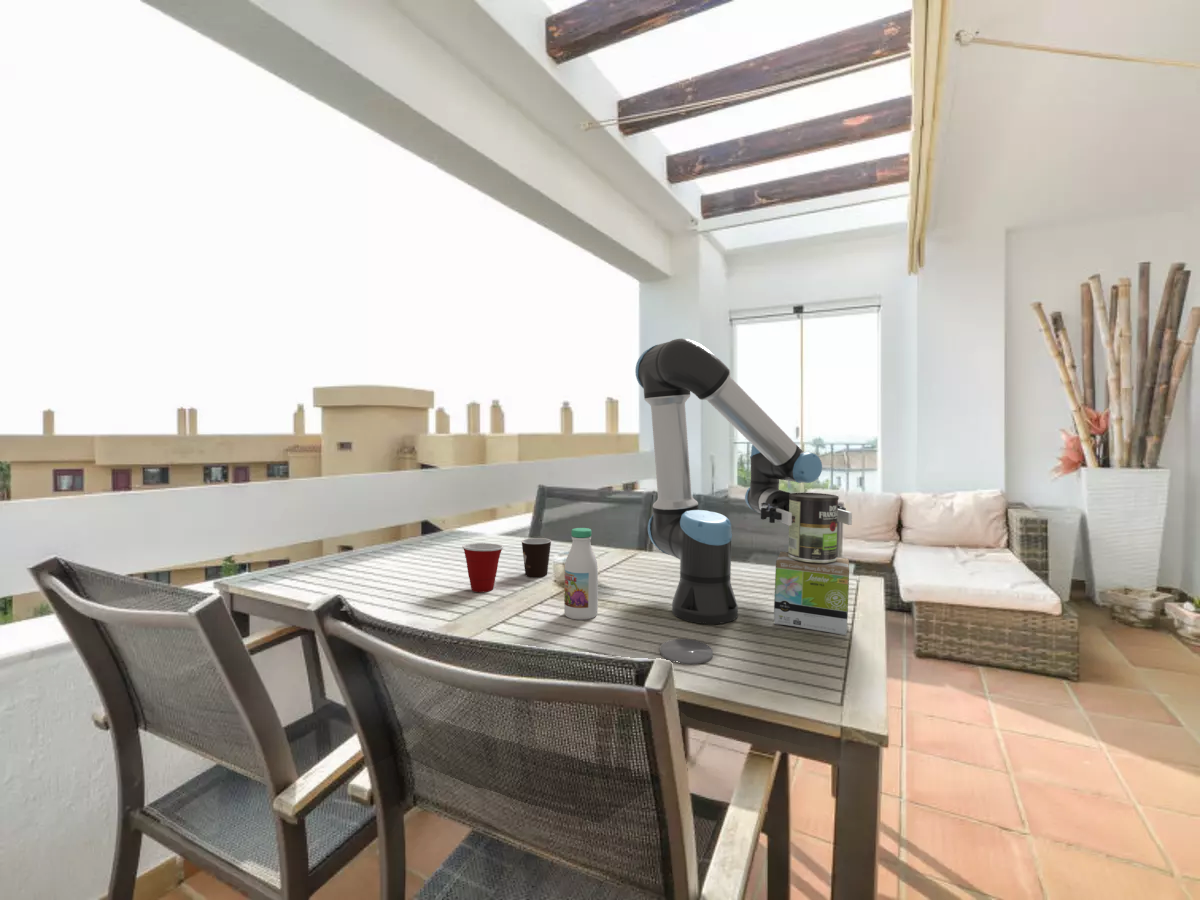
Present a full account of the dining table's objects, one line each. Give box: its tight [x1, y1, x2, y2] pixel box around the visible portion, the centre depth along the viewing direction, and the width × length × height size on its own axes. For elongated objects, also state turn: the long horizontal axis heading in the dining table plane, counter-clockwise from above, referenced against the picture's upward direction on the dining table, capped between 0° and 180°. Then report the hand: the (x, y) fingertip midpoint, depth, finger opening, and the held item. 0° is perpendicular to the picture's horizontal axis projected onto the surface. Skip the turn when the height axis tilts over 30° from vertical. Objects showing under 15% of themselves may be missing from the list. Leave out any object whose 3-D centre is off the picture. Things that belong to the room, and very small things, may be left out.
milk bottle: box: [563, 527, 599, 621], centre depth 126 cm, size 8×8×20 cm
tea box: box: [773, 551, 850, 636], centre depth 121 cm, size 15×10×15 cm, turn 66°
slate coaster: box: [659, 638, 714, 665], centre depth 105 cm, size 10×10×1 cm
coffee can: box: [787, 492, 840, 563], centre depth 121 cm, size 10×10×14 cm
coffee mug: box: [521, 537, 552, 579], centre depth 162 cm, size 12×9×10 cm
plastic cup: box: [462, 542, 504, 593], centre depth 145 cm, size 11×11×12 cm
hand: (820, 518), depth 118 cm, fingers open, 13 cm apart
